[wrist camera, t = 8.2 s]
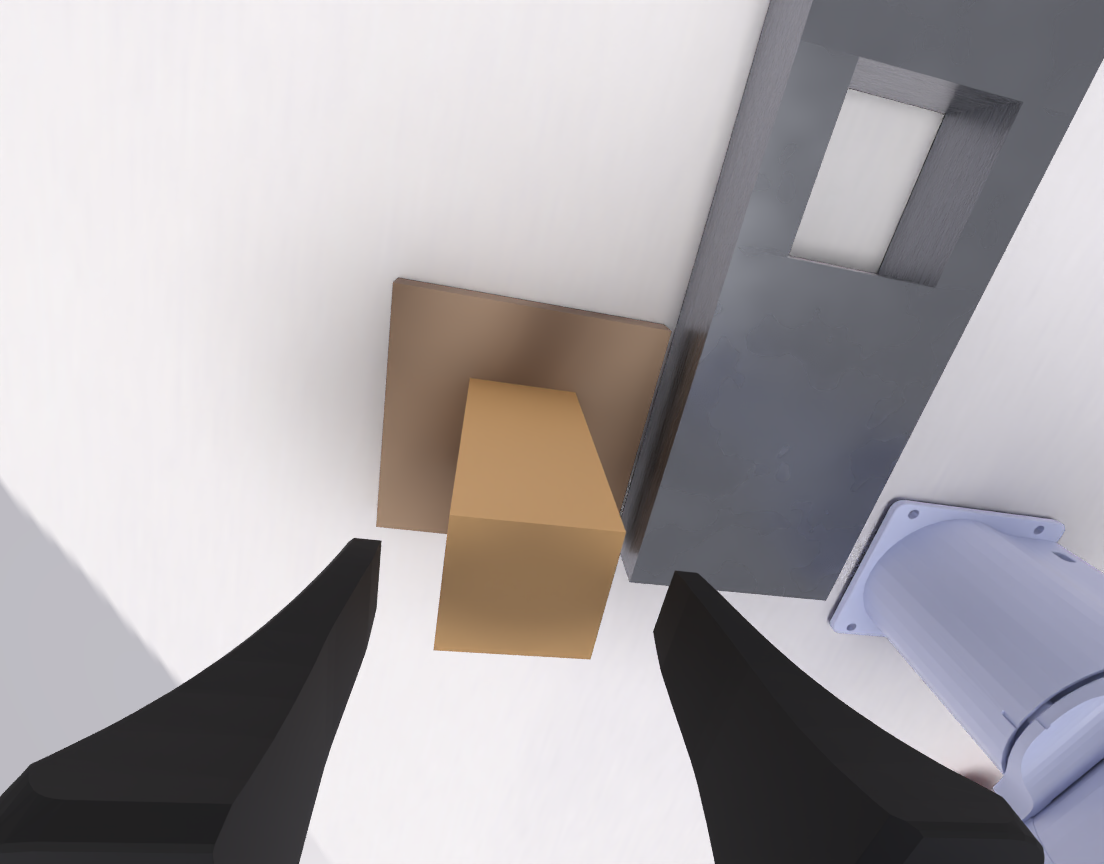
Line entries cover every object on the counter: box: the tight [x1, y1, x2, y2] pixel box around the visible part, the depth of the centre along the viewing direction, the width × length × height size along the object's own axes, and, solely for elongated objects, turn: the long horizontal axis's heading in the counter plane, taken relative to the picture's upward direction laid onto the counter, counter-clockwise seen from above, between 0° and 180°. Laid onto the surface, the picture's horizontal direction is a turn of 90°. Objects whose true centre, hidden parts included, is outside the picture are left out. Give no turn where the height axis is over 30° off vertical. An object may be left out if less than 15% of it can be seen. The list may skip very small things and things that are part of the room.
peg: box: [434, 378, 626, 659], centre depth 17 cm, size 4×4×9 cm
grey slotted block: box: [620, 0, 1104, 600], centre depth 20 cm, size 9×22×3 cm, turn 169°
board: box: [376, 278, 672, 534], centre depth 21 cm, size 10×10×1 cm
